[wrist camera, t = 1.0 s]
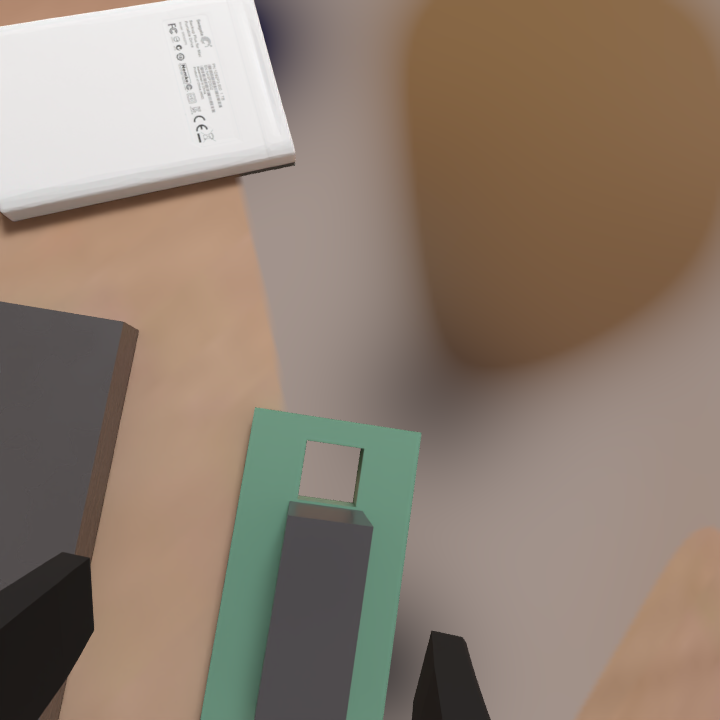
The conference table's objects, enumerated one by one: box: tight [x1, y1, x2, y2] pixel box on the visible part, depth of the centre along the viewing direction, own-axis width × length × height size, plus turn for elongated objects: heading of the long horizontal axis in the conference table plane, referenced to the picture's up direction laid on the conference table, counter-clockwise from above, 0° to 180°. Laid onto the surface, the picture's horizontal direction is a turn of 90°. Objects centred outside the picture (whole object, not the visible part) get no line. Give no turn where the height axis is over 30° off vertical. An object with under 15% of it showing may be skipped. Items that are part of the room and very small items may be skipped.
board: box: [200, 407, 421, 720], centre depth 20 cm, size 15×7×4 cm, turn 171°
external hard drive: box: [0, 0, 295, 221], centre depth 24 cm, size 2×8×12 cm
